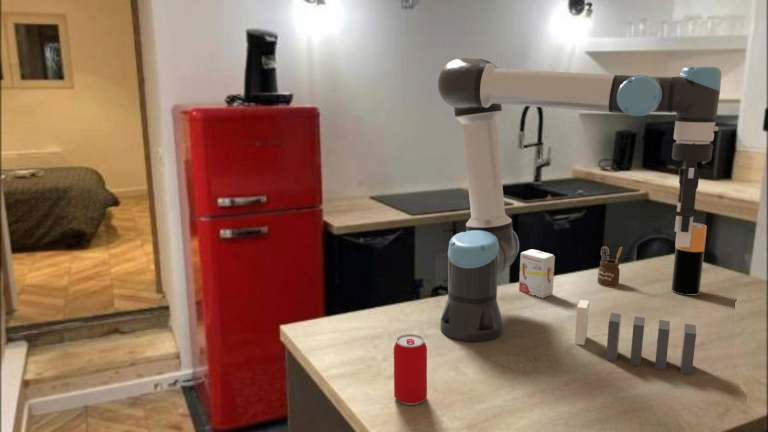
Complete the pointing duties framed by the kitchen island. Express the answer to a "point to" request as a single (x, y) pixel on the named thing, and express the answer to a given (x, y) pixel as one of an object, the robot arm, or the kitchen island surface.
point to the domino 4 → (688, 349)
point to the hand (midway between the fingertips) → (681, 238)
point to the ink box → (536, 273)
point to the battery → (690, 262)
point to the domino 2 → (637, 340)
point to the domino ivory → (582, 322)
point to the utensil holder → (609, 270)
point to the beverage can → (410, 369)
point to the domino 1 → (613, 337)
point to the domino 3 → (662, 344)
